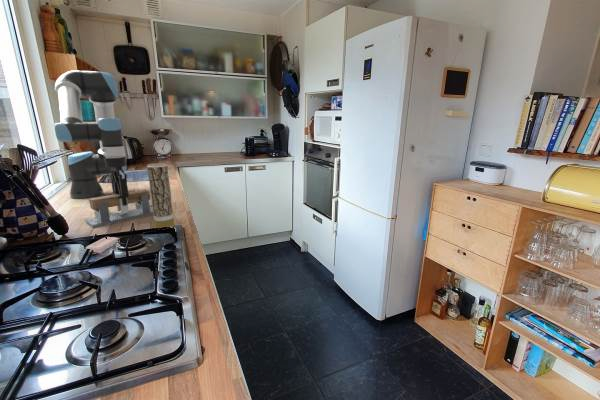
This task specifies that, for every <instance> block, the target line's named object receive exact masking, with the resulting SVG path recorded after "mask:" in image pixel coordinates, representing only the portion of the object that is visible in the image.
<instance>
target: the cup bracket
mask: <svg viewBox="0 0 600 400" xmlns="http://www.w3.org/2000/svg"><path fill="white" fill-rule="evenodd" d="M140 199H141V202H135V203H134V206H135V209H129V212H127V213H121V211H118V212H116V213H115V212H114V213H110V210H109V211H108V208H109V207H108V205H107V202H100V203H98V208H99V209H97V210H93V211H94V215H95V217H90V218H85V219H84V220H85V223H86V224H88V225H89V226H90V227H91V228H92V229H93V228H98V227H103V226H107V225H112V224H116V223H121V222H126V221H130V220H135V219H138V218H143V217H144V218H145V217H148V216H152V215H153V207H152V206H151V205H150V200H149V198H148V195H141V196H140ZM153 216H154V215H153Z"/></svg>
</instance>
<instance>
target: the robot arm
mask: <svg viewBox="0 0 600 400" xmlns="http://www.w3.org/2000/svg"><path fill="white" fill-rule="evenodd" d="M54 91H55V94H56V95H57V96H58V104H59V116H60V122H56V123H54V132H55V136H56V140H57V141H58V142H59V143H75V142H77V143H79V142H98V143H99V147H100V148H99V149H98V150H97V153H94V152H93V151H82V152H77V153H73V154H70V155H68V156H67V166H68V169H69V174H70V179H71V180H70V181H71V187H70V192H69V196H70V198H71V199H90V198H96V197H100V196H103V195H104V194H103V193H104V189H103V187H102V185H101V184H100V182H99V180H98V176H106V175H109V177H110V184H111V189H112V195H115V194H119V195H120V197H118V199H119V200H120V205H119V206H116V208H117V211H118V212H121V213H127V212H129V210H130V209H129V204H128V201H127V197H129V194H128V192H129V188H128V180H127V177H128V176H127V173H125V172H126V170H127V154H126V151H125V144H124V137H123V132H122V131H123V130H122V129H123V128H122V124H121V120H120V118H118V117H116V116H115V110H114V104H115V103H116V102H117V99H116V98H119V91H118V87H117V84H116V81H115V78H114V76H113V74H112V73H110V72H105V71H92V70H75V69H74V70H70V71H69V70H68V71H67V72H65V73H63V74H61V75H60V76H59V77H58V78H57V79H56V81H55V83H54ZM81 97H88V100H89V102H90V103H92V104H93V109H94V115H95V116H94V117H95V122H84V119H83V111H82V105H81ZM99 195H100V196H99ZM95 196H96V197H95Z"/></svg>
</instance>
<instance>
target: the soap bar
mask: <svg viewBox="0 0 600 400" xmlns="http://www.w3.org/2000/svg"><path fill="white" fill-rule="evenodd" d="M106 237H107V239H106V238H105V237H103V238H101V239H98V240H97V241H95V242H92V243H91V244H89V245H87V246H85V251H86V250H87V249H91V250H93V251H94V252H102V251H104V250H105V249H107V248H109V247H110V246H112V245H113V244H115V243H116V242H117V240H118V239H119V240H120V238H119V237H110V236H106Z"/></svg>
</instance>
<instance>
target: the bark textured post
mask: <svg viewBox="0 0 600 400" xmlns="http://www.w3.org/2000/svg"><path fill="white" fill-rule="evenodd" d="M146 167H147V174H148V182H149V183H148V184H149V189H150V190H149V192H150V200H151V207H153V221H154V222H153V223H154V228H155V229H156V228H162V227H170V226H174V227H175V222H174V213H173V204H172V203H173V202H172V195H171V194H172V193H171V185H170V177H169V167H168V163H165V162H163V163H162V162H161V163H160V162H158V163H157V162H155V163H149V164H147V166H146Z"/></svg>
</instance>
